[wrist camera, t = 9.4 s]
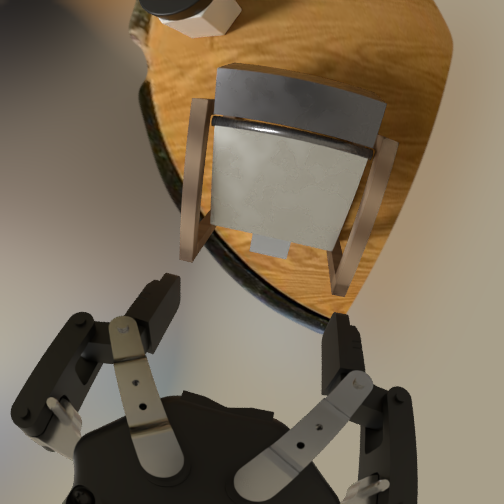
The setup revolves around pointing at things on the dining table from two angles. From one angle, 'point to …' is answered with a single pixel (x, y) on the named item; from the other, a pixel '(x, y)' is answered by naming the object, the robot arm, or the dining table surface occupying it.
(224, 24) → the jar
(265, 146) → the trapdoor
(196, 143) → the frame
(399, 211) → the dining table surface
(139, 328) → the robot arm
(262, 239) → the gray cube
